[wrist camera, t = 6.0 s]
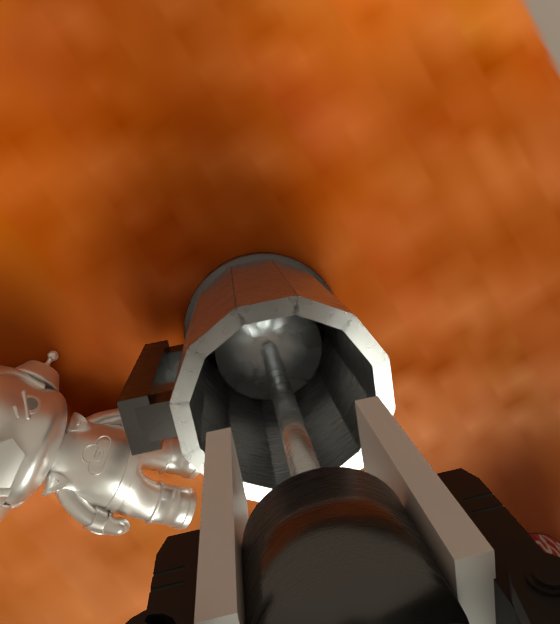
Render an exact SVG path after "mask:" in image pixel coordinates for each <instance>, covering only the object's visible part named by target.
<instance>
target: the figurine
mask: <svg viewBox="0 0 560 624" xmlns="http://www.w3.org/2000/svg"><path fill="white" fill-rule="evenodd" d="M47 358H48V360H47V361H46V362H45V363H42V362H40V361H36V360H30V361H28V362H26V363H24V364H22V365H20V366H17V367H15V368H12V367H8V366H2V365H0V522H1V521H2V520H3V518H4V517H5V516H6V515H7V514H8V512H9V511H10V510H11V509H12V508H16V507H18V506H20V505H22V504H23V503H24V502H26V501H27V500H28V498H29V497H30V496H31V495H32V494H33V493H34V492H35V491H36V490H37V489H38V488H39V486H40V485H41V484H42V483H44V484H45V485H44V490H43V493H42V496H47V495H50V494H53V493H55V492H56V495H57V498H58V500H59V502H60V504H61V505H62V506H63V508H64V509H65V510H66V511H67V512H68V513H69V514H70V515H71V516H72V517H73V518H74V519H75V520H76V521H78V522H79V523H81V524H82V525H84V526H83V528H84V529H87V530H89V531H90V532H91V533H94V534H98V535H103V534H105V535H122V534H125V533H127V532H128V531H129V530H130V526H131V525H130V523H129V521H128V520H127V519H125V518H122V517H113V516H112V515H113V514H114V513H117V514H121V515H124V516H128V517H133V518H137V519H141V520H144V521H145V523H146V524H148V525H149V524H151V523H158V524H163V525H167V526H171V527H172V528H175V529H179V530H183V529H185V528H187V527H188V525H189V524H190V522H191V520H192V517H193V515H194V512H195V508H196V502H197V494H196V491H195V489H194V488H191V487H180V486H174V485H169V484H164V483H163V482H162V481H157V482H155V481H153V480H151V479H149V478H147V477H146V476H145V475H144V474H143V473H142V472H141V470H157V472H158V473H160V474H161V473H170V474H175V475H179V476H181V477H183V478H186V479H193V478H195V477H196V476H197V475H198V474H199V473H200V472H199V471H198V470H197V469H196V468H195V467H194V466H193V465H192V464H191V463H189V462H188V461H187V460H186V459H185V458H184V455H182V451H181V447H180V443H179V439H178V438H176V437H174V438H169V439H164V442H163V446H162V449H160V450H156V451H151V452H146V453H142V454H137V455H132V454H131V450H130V447H129V443H128V440H127V437H126V433H125V430H124V426H123V423H122V420H121V416H120V413H119V409H118V408H117V409H110V410H105V411H101V412H97V413H94V414H92V415H90V416H88V417H86V418H85V417H84V416H82V415H81V414H79V413H77V412H74V413H73V414H72V416H71V419H70V420H69V422H68V424H67V416H68V409H67V403H66V400H65V398H64V396H63V395H62V394H61V393H59V374H58V372H57V371H56V370H55V369H53V368H52V367H50V364H51V363H52V361H56V360H57V359H58V358H59V354H58V352H57V351H50V352H49V353H48V354H47Z"/></svg>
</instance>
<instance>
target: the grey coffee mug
mask: <svg viewBox="0 0 560 624" xmlns="http://www.w3.org/2000/svg"><path fill="white" fill-rule="evenodd" d="M291 315H298V316H301V317H304V318H307V319H310V320H313V321H315V323H316V325H317V327H318V329H319V332H320V335H321V341H322V353H321V358H320V362H319V365H318V367H317V369H316V371H315V373H314V374H313V376H312V377H311V379H310V380H309V381H308V382H307V383H306V384H305V385H304V386H303V387H301V388H300V389H299V390H297V391H296V392H294V395H295V398H296V401H297V404H298V407H299V409H300V412H301V415H302V418H303V421H304V423H305V426H306V429H307V432H308V435H309V437H310V440H311V443H312V446H313V449H314V451H315V454H316V457H317V460H318V463H319V465H320V468H323V467H348V468H353V469H358V470H360V469H362V468H363V467H364V466H363V459H362V451H361V444H360V437H359V430H358V422H357V415H356V408H355V400H360V399H365V398H369V397H374V396H378V397H379V398H380V400H381V401H382V402H383V404H384V405H385V406H386V408H387V409H388V410H389V412H390V413H391V414H392V416H393V414H394V412H395V402H394V394H393V385H392V376H391V367H390V358H389V356H388V355H387V354H386V353H385V351H384V350H383V349H382V348H381V346H380V345H379V344H378V343H377V342H376V340H375V339H374V338H373V337H372V335H371V334H370V333H369V332H368V331H367V329H366V328H365V327H364V326H363V324H362V323H361V322H360V321H359V320H358V318H357V317H356V316H355V315H354V314H353V313H352V312H351V311H350V310H349V309H348V308H347V307H346V306H345V305H343V304H342V303H341V302H340V301H339V300H338V299H337V298H336V297H335V296H334V295H333V294H332V292H331V290H330V289H329V288H328V286H327V285H326V283H325V282H324V281H323V280H322V279H321V278H320V277H319V275H318V274H316V273H315V272H314V271H313V270H312V269H310V268H309V267H308V266H306V265H305V264H303V263H301V262H300V261H298V260H296V259H293V258H291V257H288V256H285V255H281V254H276V253H263V252H259V253H250V254H246V255H242V256H238V257H235V258H233V259H231V260H228V261H226V262H225V263H223V264H221V265H219V266H218V267H217V268H215V269H214V270H213V271H211V272H210V273H209V274H208V275H207V276H206V277H205V278H204V279H203V281H202V282H201V283H200V285H199V286H198V287H197V289H196V291H195V292H194V294H193V296H192V298H191V301H190V303H189V306H188V309H187V313H186V317H185V325H184V339H185V342H184V344H182V345H177V346H172V347H169V344H168V340H165V341H160V342H155V343H150V344H145V346H144V348H143V350H142V352H141V354H140V356H139V358H138V360H137V362H136V364H135V366H134V368H133V370H132V372H131V374H130V376H129V378H128V380H127V382H126V384H125V386H124V388H123V390H122V392H121V394H120V396H119V398H118V400H117V406H118V409H119V413H120V416H121V420H122V423H123V426H124V430H125V433H126V437H127V440H128V443H129V447H130V450H131V454H132V455H137V454H142V453H146V452H151V451H156V450H160V449H162V446H163V442H164V439H169V438H174V437H178V439H179V443H180V447H181V451H182V455H184V458H185V459H186V460H187V461H188V462H189V463H191V464H192V465H193V466H194V467H195V468H196V469H197V470H198V471H199V472H200V473H201V474H202V475H203V476H204V461H205V446H206V432H210V431H215V430H220V429H224V428H229V427H231V432H232V436H233V441H234V445H235V449H236V454H237V458H238V463H239V467H240V472H241V476H242V481H243V485H244V490H245V494H246V499H249V500H253V501H257V502H260V501H261V500H262V498H263V497H264V496H265V495H266V494H267V493H268V492H270V491H271V490H272V489H273V488H274V487H276V486H277V485H279V484H280V483H281V482H283V481H285V480H287V479H289V478H290V477H291V474H290V470H289V466H288V462H287V458H286V454H285V450H284V446H283V441H282V437H281V433H280V429H279V425H278V421H277V417H276V413H275V408H274V404H273V400H272V399H266V400H264V399H256V398H252V397H249V396H246V395H244V394H242V393H240V392H238V391H237V390H235V389H234V388H233V387H231V386H230V385H229V384H228V383H227V381H226V380H225V379H224V378H223V376H222V374H221V373H220V371H219V368H218V366H217V362H216V357H215V349H216V348H218V347H219V346H220V345H221V344H222V343H223V342H225V341H226V340H227V339H228V338H229V337H231V336H232V335H233V334H234V333H235V332H237V331H238V330H239V329H240V328H241V327H242V326H244V325H246V324H251V323H256V322H261V321H266V320H271V319H276V318H281V317H286V316H291Z"/></svg>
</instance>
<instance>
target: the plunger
mask: <svg viewBox="0 0 560 624" xmlns="http://www.w3.org/2000/svg"><path fill="white" fill-rule="evenodd" d="M321 353H322V341H321V335H320V332H319V329H318V327H317V325H316V323H315V321H313V320H310V319H307V318H304V317H301V316H298V315H291V316H286V317H281V318H276V319H271V320H266V321H261V322H256V323H251V324H246V325H244V326H242V327H241V328H240V329H239V330H238V331H237V332H235V333H234V334H233V335H232V336H231V337H229V338H228V339H227V340H226V341H225V342H223V343H222V344H221V345H220V346H219V347H218V348H216V349H215V357H216V362H217V366H218V368H219V371H220V373H221V374H222V376H223V378H224V379H225V380H226V381H227V383H228V384H229V385H230V386H231V387H233V388H234V389H235V390H237V391H238V392H240V393H242V394H244V395H246V396H249V397H252V398H256V399H264V400H266V399H272V400H273V404H274V408H275V413H276V417H277V421H278V425H279V429H280V433H281V437H282V441H283V446H284V450H285V454H286V458H287V462H288V466H289V470H290V474H291V477H290V478H289V479H287V480H285V481H283V482H281V483H280V484H279V485H277V486H276V487H274V488H273V489H272V490H271V491H270V492H268V493H267V494H266V495H265V496H264V497H263V498H262V500H261V501H260V502H259V503H258V504H257V505H256V507H255V508H254V510H253V512H252V513H251V515H250V517H249V519H248V521H247V523H246V526H245V529H244V533H243V539H242V560H243V577H244V595H245V613H246V624H469V621H468V618H467V616H466V614H465V612H464V610H463V609H462V607H461V605H460V603H459V602H458V600H457V598H456V596H455V595H454V593H453V591H452V589H451V588H450V586H449V584H448V582H447V581H446V579H445V577H444V576H443V574H442V572H441V570H440V569H439V567H438V565H437V563H436V562H435V560H434V558H433V556H432V555H431V553H430V551H429V550H428V548H427V546H426V544H425V543H424V541H423V539H422V537H421V536H420V534H419V532H418V530H417V529H416V527H415V525H414V524H413V522H412V520H411V518H410V517H409V515H408V513H407V511H406V510H405V508H404V506H403V504H402V503H401V501H400V499H399V498H398V496H397V495H396V494H395V492H394V491H393V490H392V489H391V488H390V487H389V486H388V485H387V484H386V483H385V482H383V481H382V480H380V479H379V478H377V477H375V476H373V475H371V474H369V473H367V472H364V471H361V470H358V469H353V468H348V467H323V468H320V465H319V463H318V460H317V457H316V454H315V451H314V449H313V446H312V443H311V440H310V437H309V435H308V432H307V429H306V426H305V423H304V421H303V418H302V415H301V412H300V409H299V407H298V404H297V401H296V398H295V395H294V392H296V391H297V390H299V389H300V388H301V387H303V386H304V385H305V384H306V383H307V382H308V381H309V380H310V379H311V377H312V376H313V374H314V373H315V371H316V369H317V367H318V365H319V362H320V358H321Z"/></svg>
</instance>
